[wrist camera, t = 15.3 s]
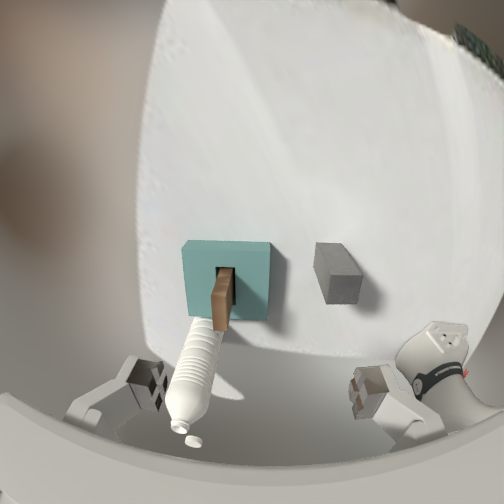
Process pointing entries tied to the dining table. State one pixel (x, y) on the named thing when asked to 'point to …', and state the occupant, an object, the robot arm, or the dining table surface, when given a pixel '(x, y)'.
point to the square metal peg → (337, 274)
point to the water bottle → (194, 377)
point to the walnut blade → (223, 298)
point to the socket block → (246, 276)
